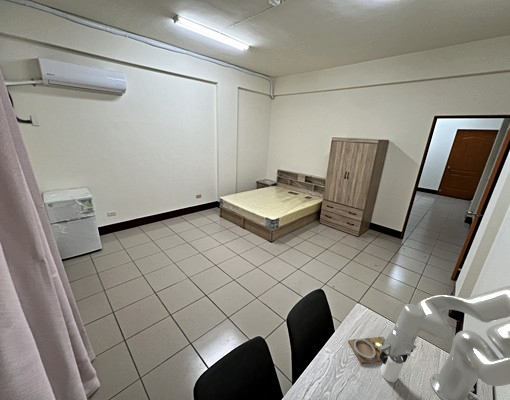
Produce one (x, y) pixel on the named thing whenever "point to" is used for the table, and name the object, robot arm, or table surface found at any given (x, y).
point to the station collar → (361, 353)
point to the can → (392, 368)
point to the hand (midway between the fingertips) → (391, 359)
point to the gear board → (365, 350)
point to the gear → (378, 344)
